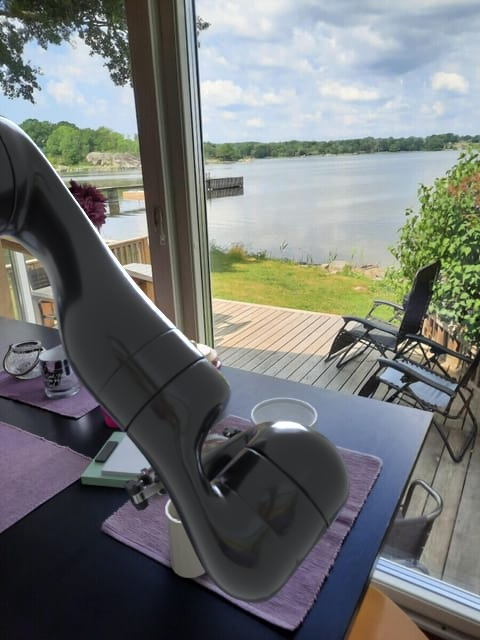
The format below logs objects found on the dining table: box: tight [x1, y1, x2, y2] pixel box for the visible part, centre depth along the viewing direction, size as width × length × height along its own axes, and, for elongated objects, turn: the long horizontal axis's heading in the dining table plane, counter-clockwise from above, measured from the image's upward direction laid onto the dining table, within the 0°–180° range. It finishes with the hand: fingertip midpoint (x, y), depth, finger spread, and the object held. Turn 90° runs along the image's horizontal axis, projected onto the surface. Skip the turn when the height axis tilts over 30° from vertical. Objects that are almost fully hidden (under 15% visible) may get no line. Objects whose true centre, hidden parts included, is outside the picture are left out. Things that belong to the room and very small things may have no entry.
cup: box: [164, 499, 206, 579], centre depth 61 cm, size 6×6×10 cm
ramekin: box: [250, 397, 319, 430], centre depth 88 cm, size 13×13×7 cm
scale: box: [80, 431, 151, 489], centre depth 84 cm, size 16×14×3 cm
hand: (176, 460), depth 57 cm, fingers open, 8 cm apart
